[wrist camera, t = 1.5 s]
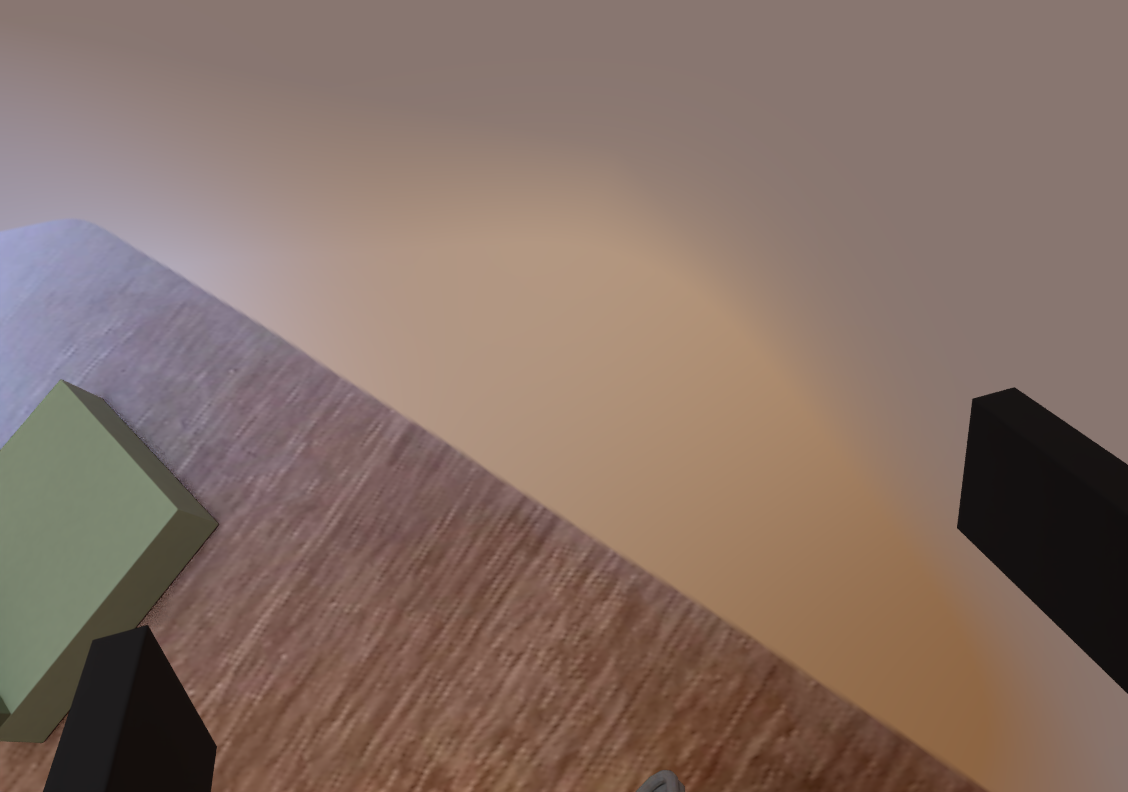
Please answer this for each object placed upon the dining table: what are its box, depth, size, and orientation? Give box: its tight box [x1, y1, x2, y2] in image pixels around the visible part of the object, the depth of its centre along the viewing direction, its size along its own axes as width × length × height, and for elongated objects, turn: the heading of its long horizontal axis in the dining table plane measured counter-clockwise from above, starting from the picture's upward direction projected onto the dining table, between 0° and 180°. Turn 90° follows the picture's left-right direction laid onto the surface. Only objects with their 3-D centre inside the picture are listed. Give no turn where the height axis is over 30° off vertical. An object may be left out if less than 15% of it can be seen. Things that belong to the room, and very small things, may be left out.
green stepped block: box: [0, 379, 218, 743], centre depth 45 cm, size 14×14×6 cm
